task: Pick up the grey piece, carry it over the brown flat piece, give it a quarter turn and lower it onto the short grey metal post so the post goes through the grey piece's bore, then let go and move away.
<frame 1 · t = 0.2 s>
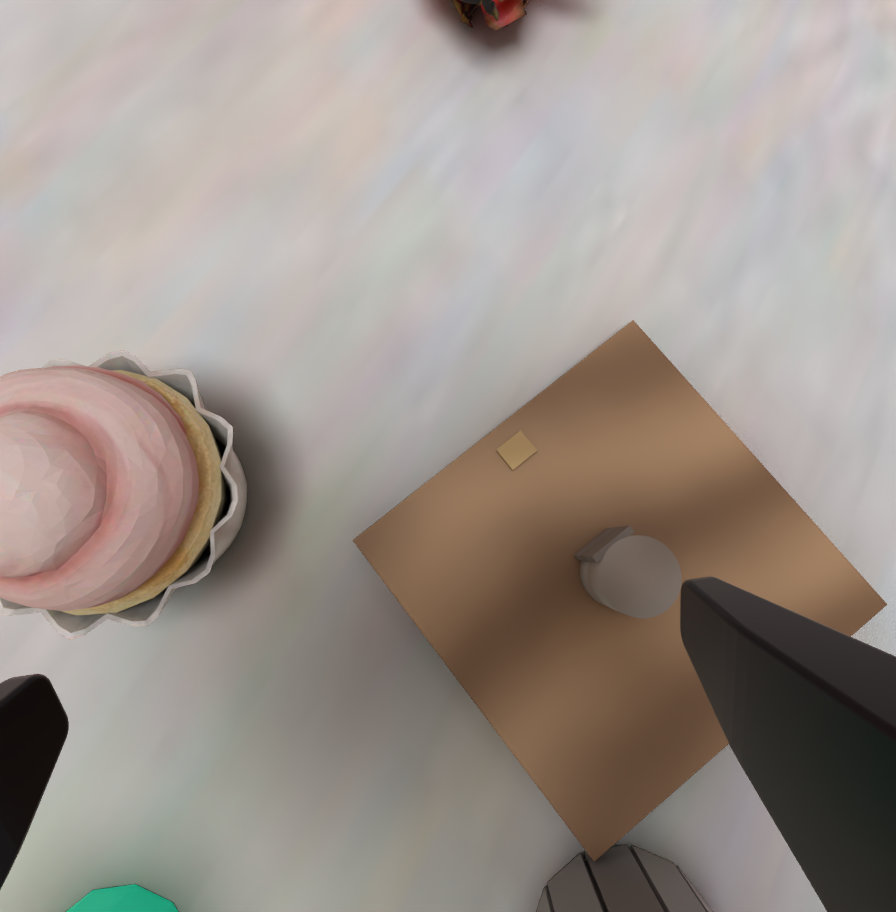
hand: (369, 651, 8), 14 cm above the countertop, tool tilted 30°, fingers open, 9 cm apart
cupcake: (172, 500, 23), on the countertop
brown flat piece: (608, 570, 22), on the countertop
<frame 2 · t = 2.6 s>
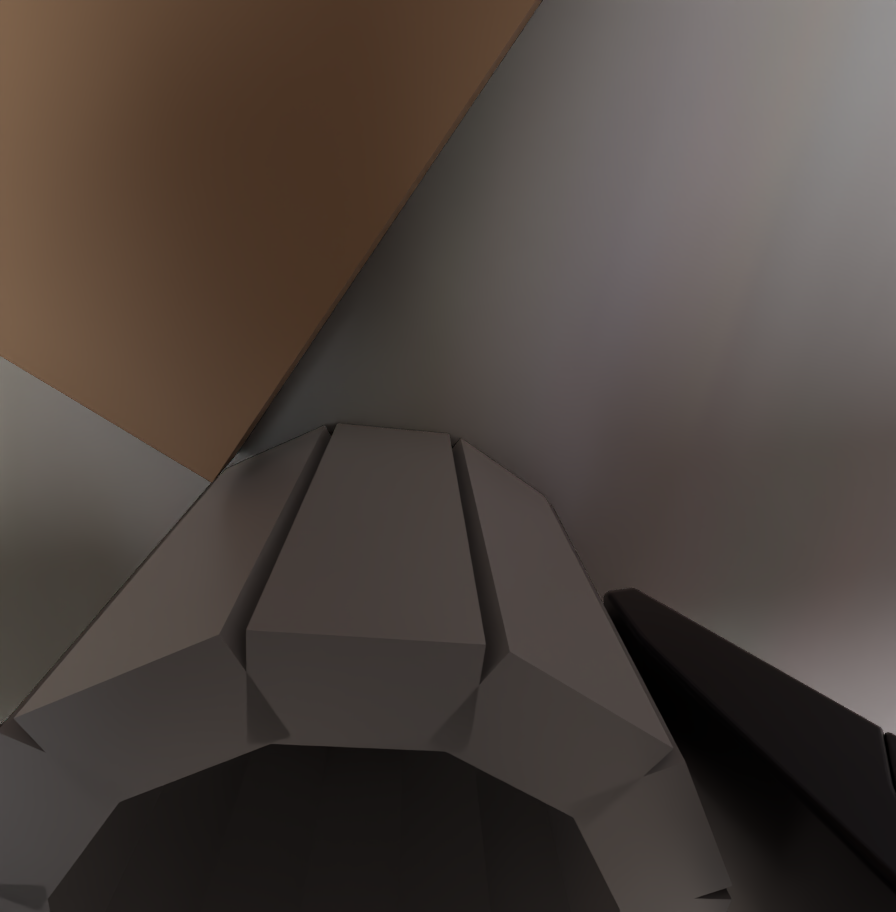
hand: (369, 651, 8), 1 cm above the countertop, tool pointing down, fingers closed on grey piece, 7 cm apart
grey piece: (377, 622, 9), on the countertop, touching gripper
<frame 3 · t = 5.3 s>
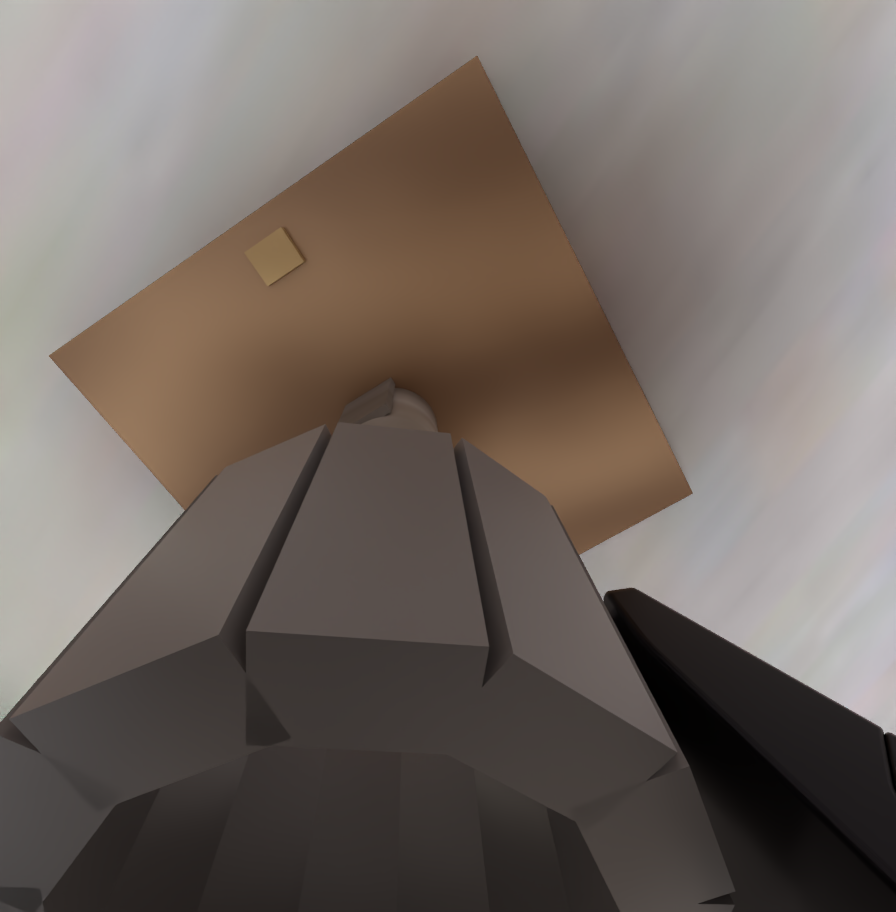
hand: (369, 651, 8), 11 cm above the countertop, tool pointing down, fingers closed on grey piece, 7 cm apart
brown flat piece: (395, 420, 18), on the countertop
grey piece: (376, 622, 9), point 10 cm above the countertop, touching gripper
when the fingers open (3 cm above the countertop, at t = 7.9 s): grey piece stays where it is, resting on brown flat piece.
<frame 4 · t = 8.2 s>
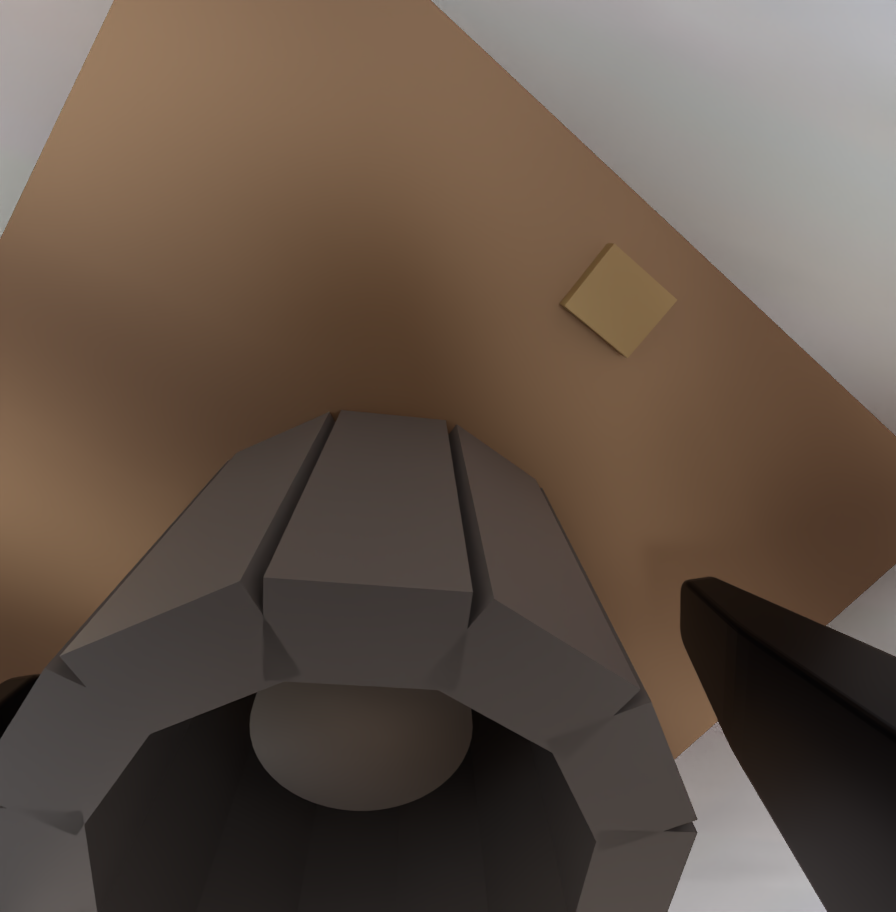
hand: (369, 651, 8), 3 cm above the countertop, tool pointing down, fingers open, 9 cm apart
brown flat piece: (382, 556, 10), on the countertop
grey piece: (378, 599, 10), point 1 cm above the countertop, touching brown flat piece
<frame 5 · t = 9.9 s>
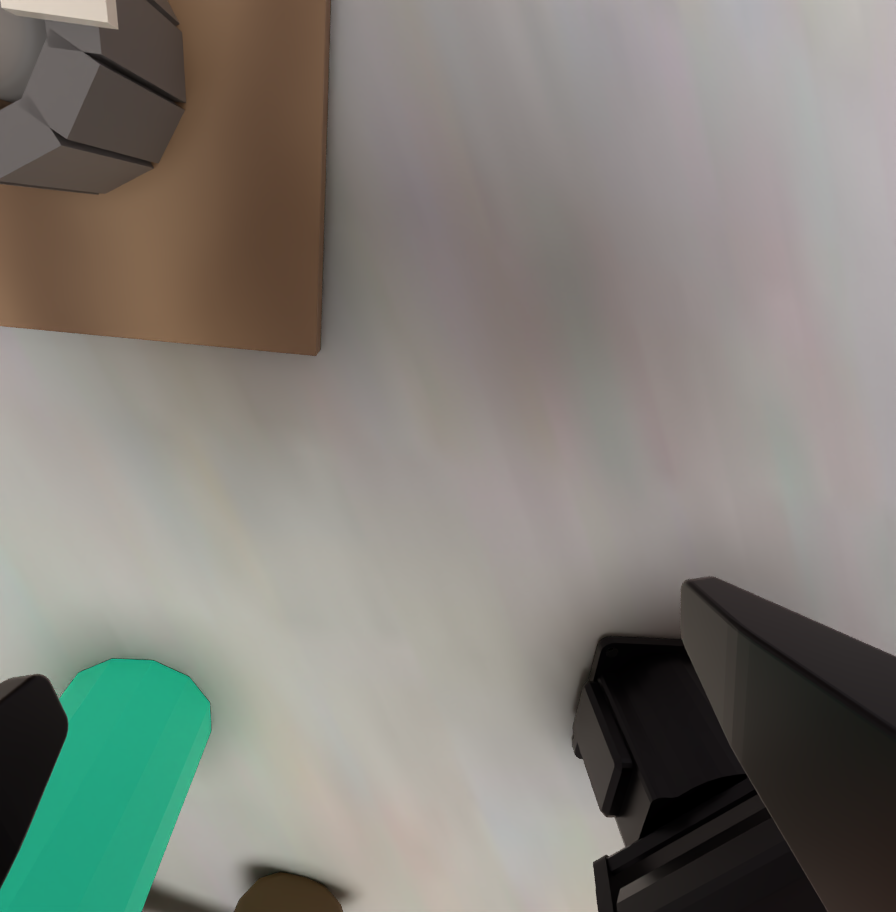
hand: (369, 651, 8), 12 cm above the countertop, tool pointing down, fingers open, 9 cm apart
candle: (140, 710, 24), on the countertop
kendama: (199, 901, 29), on the countertop
brown flat piece: (64, 65, 15), on the countertop
grey piece: (50, 50, 14), point 1 cm above the countertop, touching brown flat piece
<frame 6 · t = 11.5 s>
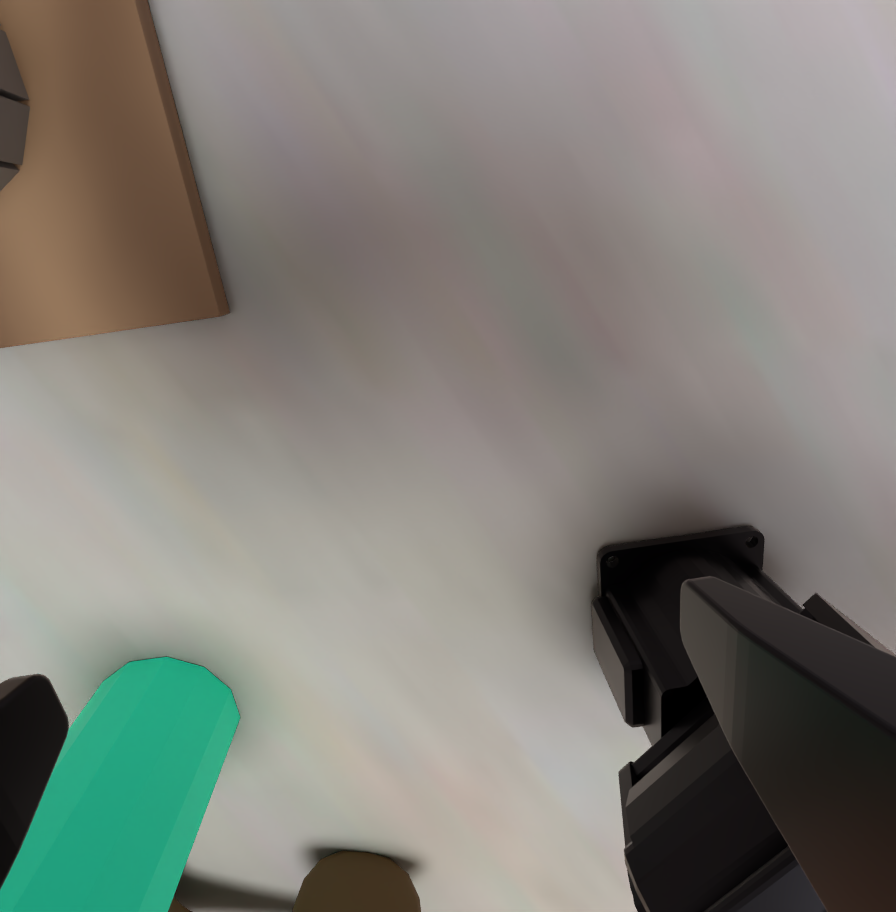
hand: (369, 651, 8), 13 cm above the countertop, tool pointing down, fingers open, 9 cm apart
candle: (170, 709, 25), on the countertop
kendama: (277, 894, 29), on the countertop
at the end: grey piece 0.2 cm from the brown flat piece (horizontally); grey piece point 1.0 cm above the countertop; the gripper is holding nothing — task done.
